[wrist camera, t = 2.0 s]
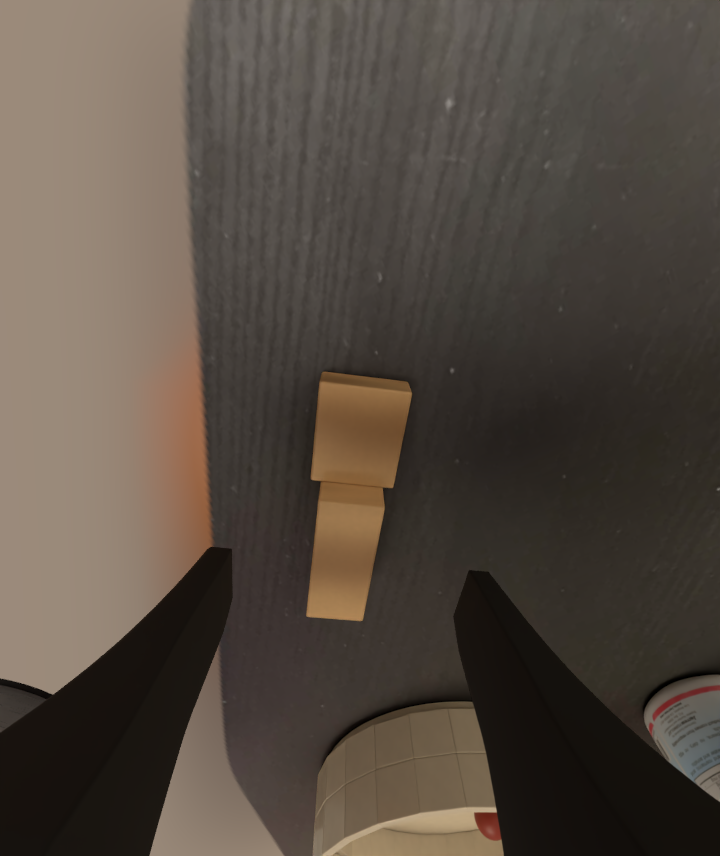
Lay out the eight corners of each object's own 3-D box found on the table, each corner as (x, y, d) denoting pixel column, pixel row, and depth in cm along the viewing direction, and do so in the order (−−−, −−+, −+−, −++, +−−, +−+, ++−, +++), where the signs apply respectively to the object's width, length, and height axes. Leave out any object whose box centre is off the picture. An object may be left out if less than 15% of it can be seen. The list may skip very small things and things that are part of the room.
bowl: (350, 839, 31) (349, 940, 27) (286, 719, 24) (271, 831, 19) (569, 813, 30) (608, 915, 25) (573, 677, 22) (628, 788, 18)
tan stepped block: (370, 578, 19) (372, 622, 17) (303, 572, 19) (296, 617, 16) (408, 381, 14) (418, 406, 12) (321, 370, 14) (316, 394, 12)
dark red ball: (471, 805, 28) (480, 848, 26) (468, 790, 27) (477, 834, 25) (503, 801, 27) (514, 844, 26) (501, 786, 27) (513, 830, 25)
